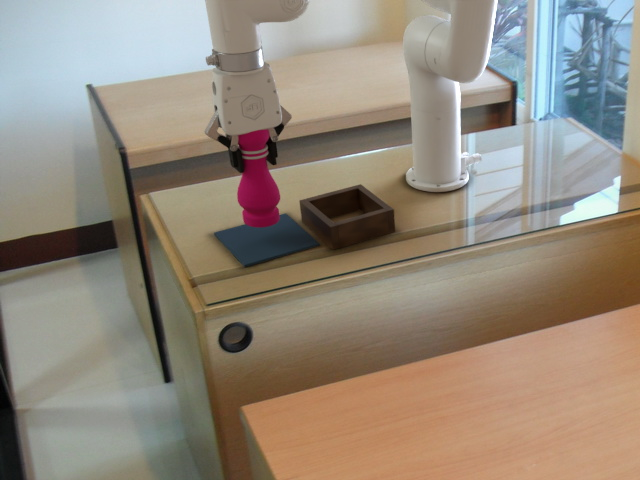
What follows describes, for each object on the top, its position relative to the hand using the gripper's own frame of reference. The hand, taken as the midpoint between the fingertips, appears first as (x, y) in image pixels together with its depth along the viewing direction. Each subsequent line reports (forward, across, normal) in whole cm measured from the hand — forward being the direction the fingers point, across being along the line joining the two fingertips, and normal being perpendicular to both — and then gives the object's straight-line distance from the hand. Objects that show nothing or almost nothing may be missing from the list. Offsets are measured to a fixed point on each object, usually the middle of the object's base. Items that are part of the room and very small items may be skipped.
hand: (255, 165), depth 159 cm
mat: (+14, 0, 0) cm, 14 cm away
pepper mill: (+10, 0, 0) cm, 10 cm away
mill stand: (+14, +14, -4) cm, 21 cm away
